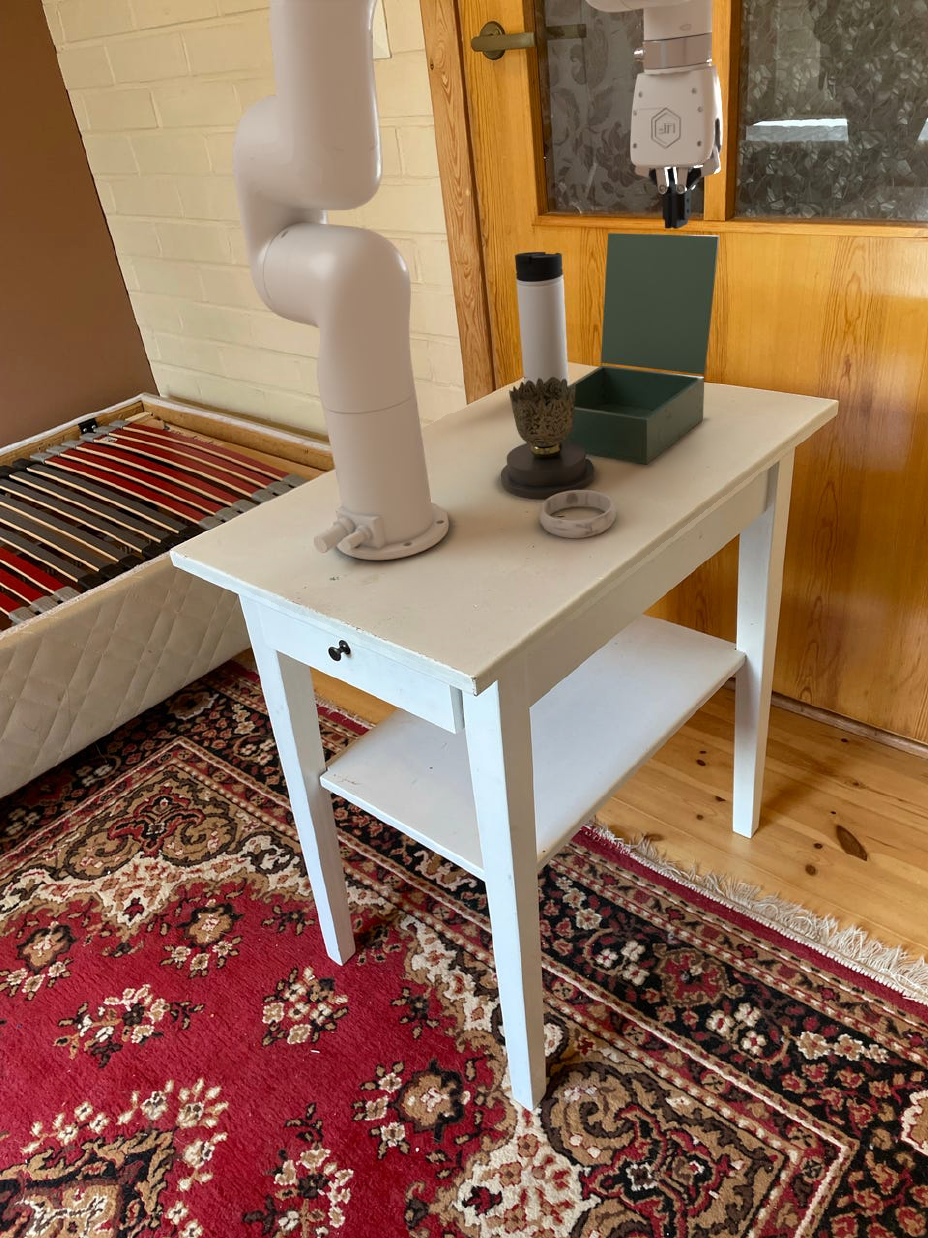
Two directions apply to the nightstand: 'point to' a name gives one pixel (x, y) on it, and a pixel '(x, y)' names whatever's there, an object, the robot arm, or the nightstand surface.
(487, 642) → the nightstand surface
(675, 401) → the tin
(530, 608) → the nightstand surface
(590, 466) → the stand
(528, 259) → the travel mug
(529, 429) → the cup
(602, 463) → the nightstand surface
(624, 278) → the tin lid
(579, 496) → the ring
